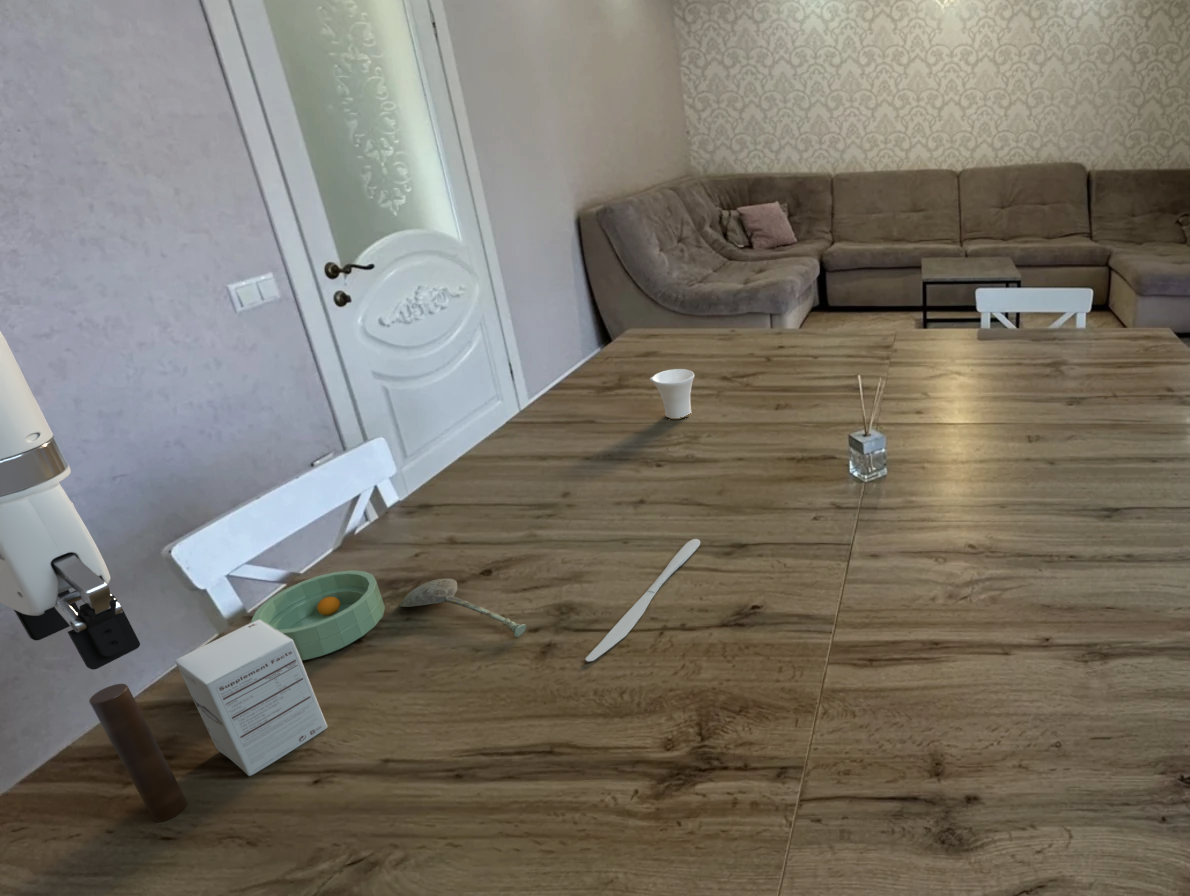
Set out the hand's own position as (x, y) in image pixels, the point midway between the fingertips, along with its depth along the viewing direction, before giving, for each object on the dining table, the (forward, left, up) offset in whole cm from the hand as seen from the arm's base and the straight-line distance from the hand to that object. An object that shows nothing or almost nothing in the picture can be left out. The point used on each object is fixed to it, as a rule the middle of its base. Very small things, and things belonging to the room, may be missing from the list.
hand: (86, 643), depth 63 cm
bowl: (+8, +25, -21) cm, 33 cm away
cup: (+62, +75, -21) cm, 99 cm away
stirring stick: (0, 0, -21) cm, 21 cm away
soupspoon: (+24, +20, -21) cm, 37 cm away
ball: (+8, +28, -19) cm, 35 cm away
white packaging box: (+6, +6, -21) cm, 23 cm away
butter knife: (+47, +12, -21) cm, 53 cm away
